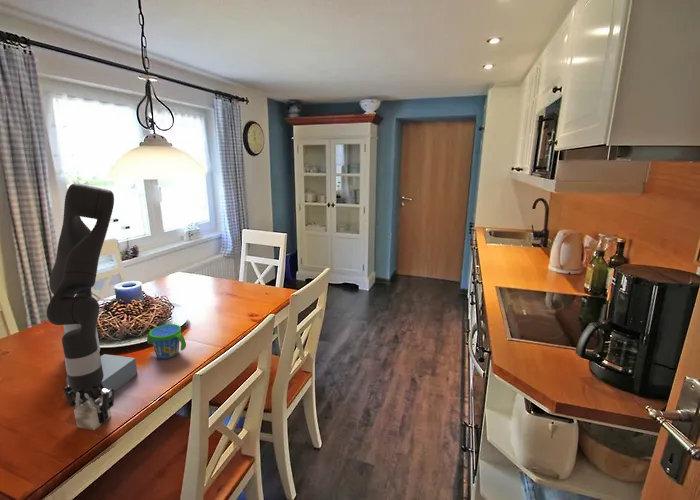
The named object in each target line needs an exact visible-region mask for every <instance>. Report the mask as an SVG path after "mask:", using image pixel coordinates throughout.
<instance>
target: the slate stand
mask: <svg viewBox="0 0 700 500" xmlns="http://www.w3.org/2000/svg"><path fill="white" fill-rule="evenodd" d="M100 357H101V363H102V369H103V375H104V377H103V380H102V385H103V386H104V389H107V390H109V389H111V388H112V389H114V392H116V391H117V390H118V389H119V388H122V386H124V385H125V384H126V383H127V382H129V381H130V380H132V379H133V378H134V377H135V376H136V375H138V369H137V362H136V358H135V357H128V356H121V355H114V354H105V353H104V354H103V355H100ZM65 381H66V386H68V385H69V381H68V376H67V377H65ZM99 398H100V397H99Z"/></svg>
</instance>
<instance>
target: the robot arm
mask: <svg viewBox="0 0 700 500" xmlns="http://www.w3.org/2000/svg"><path fill="white" fill-rule="evenodd" d="M114 195H115V194H114V193H113V191H112V190H110V189H107V188H102V187H98V186H93V185H89V184H85V183H72V184H70V185H69V186H68V187H67V190H66V193H65V197H64V208H63V219H62V227H61V230H60V231H61V232H60V235H59V239H58V243H57V250H56V255H55V256H56V257H55V262H54V265H53V268H52V269H51V272H50V276H49V283H48V284H49V289H50V292H51V293H52V294H53V296H52V298H51V299H50V301H49V303H48V305H47V308H46V316H47V320H48V321H49V323H51V324H52V325H55V326H63V330H64V331H63V333H62V335H63V336H62V338H61V344H62V349H63V353H64V365H65V370H66V376H67V377H68V381H69V385H68V386H67V385H66V386H65V387H63V393H64V394H65V398H66V400H67V403H68V405H69V406H70V407H71V408H72V407H74V408H75V409H76V408H77V407H79V406H80V405H81V404H83V403H84V402H86V401H89V402H90V404H91V406H92V407H95V408H96V410H97V412H98V413H97V414H98V419H99V423H101V425H103V424H104V422H106V421H108V419H109V418H108V412H107V410H109V409H110V410H111V409H112V407H114V401H115V398H114V397H115V391H114V389H112V388H111V389H109V390H107V389H104V386H103V385H102V380H103V377H104V375H103V369H102V363H101V354H100V351H101V346H100V340H99V334H98V329H97V324H98V319H99V318H98V317H99V314H100V304H99V301H98V300H97V299H96V298H95V297H93V293H92V288H93V287H94V286H95V284H96V279H97V273H98V265H99V260H100V256H101V252H102V248H103V245H104V242H105V239H106V236H107V233H108V230H109V229H108V228H109V225H110V221H111V219H112V214H113V210H114V205H115V196H114ZM82 218H88V219H94V220H96V222H95V224H94V226H93V228H92V230H91V229H90V228H89V227H88V226H87V225H86V223H85V222H84V221H83V219H82ZM99 397H100V399H99V400H97V401H96V402H95V400H96V399H98V398H99ZM100 403H101V404H102V406H101V407H100V405H99V404H100Z"/></svg>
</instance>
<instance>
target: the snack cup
mask: <svg viewBox="0 0 700 500" xmlns="http://www.w3.org/2000/svg"><path fill="white" fill-rule="evenodd" d="M181 332H182V327H181V326H180V325H179V324H176V323H167V324H161V325H158V326H156V327H154V328H152V329H151V330H149V331H148V333H147V338H146V340H147V341H146V342H147V344H148V345H152V346H153V349H154V352H155V356H156V358H158V359H160V360H161V359H164V360H167V359H171V358H173V357H176V356H177V355H178V353H179V350H180V352H181V351H184V350H185V349H186V347H187V343H186V339H185V337H184V335H183V334H182V333H181Z"/></svg>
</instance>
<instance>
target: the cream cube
mask: <svg viewBox="0 0 700 500" xmlns="http://www.w3.org/2000/svg"><path fill="white" fill-rule="evenodd" d="M99 399H100V398H98V399H96V400H95V402H96V401H97V400H99ZM99 405H100V407H101V406H102V404H101V403H100V404H99ZM107 412H108V419H109V418H110V417H112V413H111V408H110V409H109V410H107ZM73 413H74V417H75V422H76V428H80V429H86V430H91V431H95V430H96V429H98V428H99V427H100V426H101V425H102V424H101V423H99V419H98V414H97V413H98V412H97V410H96V408H95V407H92V406H91V404H90V402H89V401H86V402H84V403H83V404H81V405H80V406H79V407H77V408H75V409H73Z"/></svg>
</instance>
